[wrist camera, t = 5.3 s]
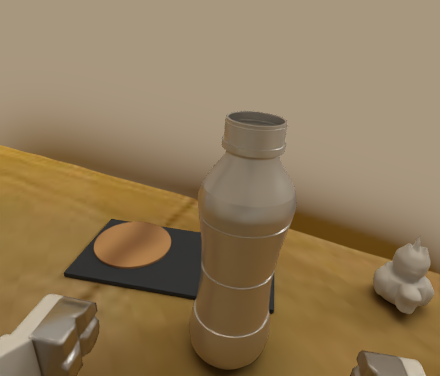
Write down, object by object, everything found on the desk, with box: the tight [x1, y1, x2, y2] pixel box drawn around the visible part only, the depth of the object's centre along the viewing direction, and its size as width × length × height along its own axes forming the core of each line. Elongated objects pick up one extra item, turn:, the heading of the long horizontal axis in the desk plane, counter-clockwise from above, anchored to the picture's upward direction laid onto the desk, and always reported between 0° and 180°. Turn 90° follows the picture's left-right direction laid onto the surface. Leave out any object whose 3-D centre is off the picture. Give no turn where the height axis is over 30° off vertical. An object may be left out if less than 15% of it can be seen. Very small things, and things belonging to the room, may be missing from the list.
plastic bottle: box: [189, 111, 297, 370], centre depth 23 cm, size 6×7×20 cm
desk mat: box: [64, 219, 274, 313], centre depth 37 cm, size 22×11×1 cm, turn 81°
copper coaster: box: [94, 222, 171, 269], centre depth 39 cm, size 9×9×1 cm
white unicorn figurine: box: [373, 236, 434, 314], centre depth 32 cm, size 5×7×8 cm
